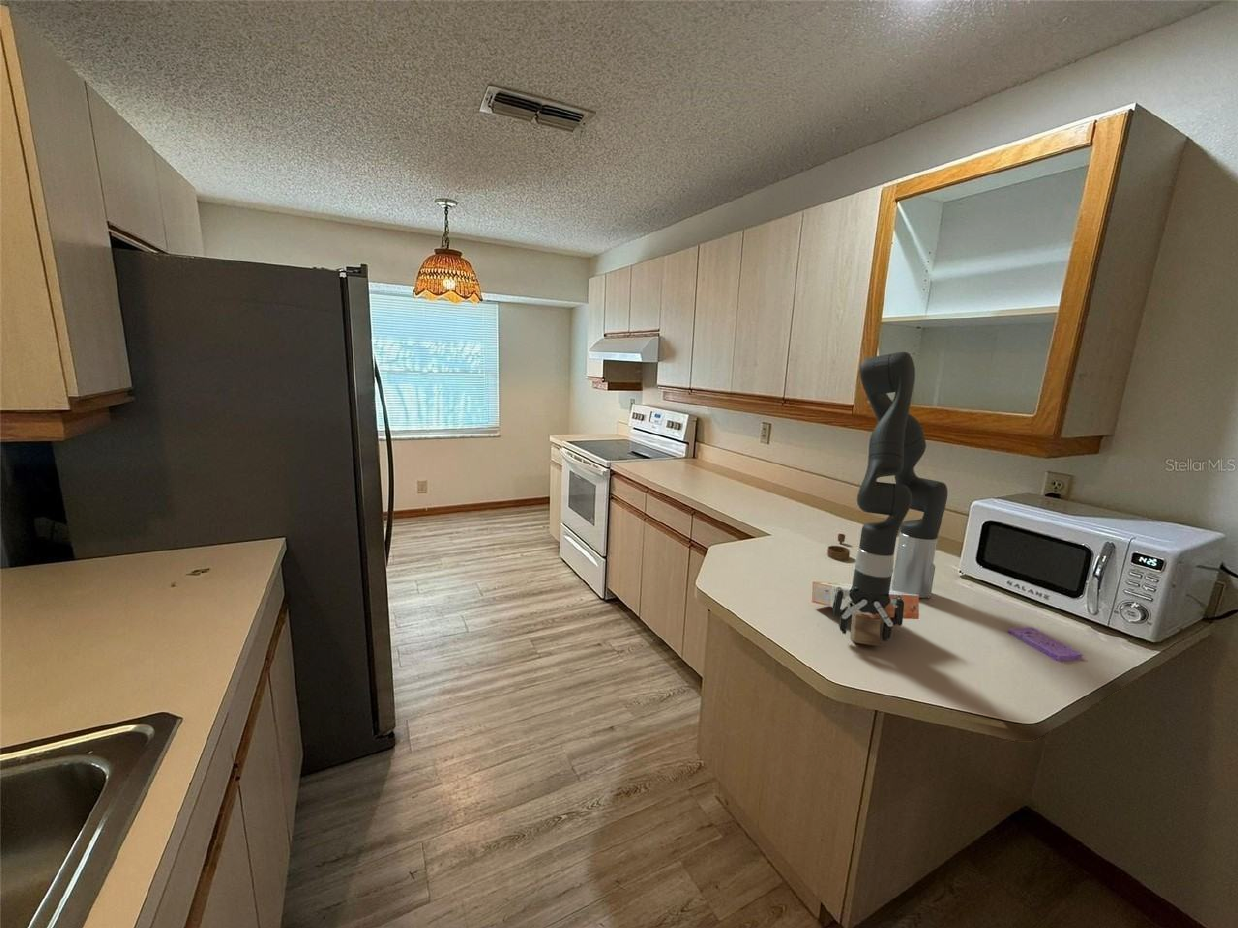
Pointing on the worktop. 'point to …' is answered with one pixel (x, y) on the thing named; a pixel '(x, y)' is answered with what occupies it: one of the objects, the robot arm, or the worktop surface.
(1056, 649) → the sponges
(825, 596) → the cracker box
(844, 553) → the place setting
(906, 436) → the robot arm
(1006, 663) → the worktop surface
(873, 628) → the walnut block
